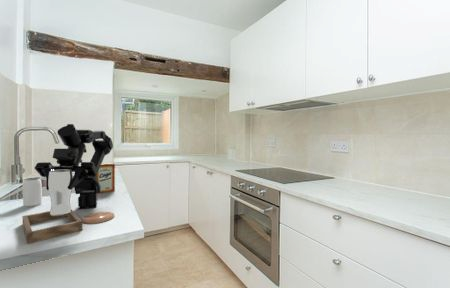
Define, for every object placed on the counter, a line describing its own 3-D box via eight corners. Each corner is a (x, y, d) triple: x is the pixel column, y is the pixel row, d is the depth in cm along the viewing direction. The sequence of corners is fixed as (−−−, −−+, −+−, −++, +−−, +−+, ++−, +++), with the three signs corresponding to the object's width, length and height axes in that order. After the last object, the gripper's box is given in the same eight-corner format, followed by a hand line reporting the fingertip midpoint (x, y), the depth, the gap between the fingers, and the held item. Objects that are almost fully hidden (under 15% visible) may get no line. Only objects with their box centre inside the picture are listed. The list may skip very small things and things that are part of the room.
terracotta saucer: (114, 211, 94) (114, 210, 94) (114, 220, 84) (114, 219, 84) (83, 215, 89) (83, 214, 89) (79, 225, 79) (79, 223, 79)
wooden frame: (69, 214, 90) (69, 207, 90) (82, 229, 76) (82, 221, 76) (22, 224, 80) (22, 216, 80) (27, 243, 66) (27, 233, 66)
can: (20, 205, 101) (19, 179, 100) (37, 201, 106) (37, 176, 106) (27, 207, 98) (26, 180, 97) (44, 204, 103) (44, 178, 103)
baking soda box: (96, 193, 122) (95, 164, 122) (93, 191, 127) (92, 163, 126) (114, 191, 129) (114, 163, 128) (111, 189, 134) (110, 162, 133)
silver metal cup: (76, 209, 83) (76, 169, 82) (65, 216, 76) (66, 172, 75) (55, 209, 82) (55, 168, 81) (43, 216, 75) (43, 172, 74)
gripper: (37, 140, 80) (14, 176, 70) (93, 140, 83) (80, 175, 73) (50, 159, 88) (32, 194, 78) (101, 159, 91) (91, 193, 81)
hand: (58, 189), depth 77 cm, fingers closed on silver metal cup, 7 cm apart
